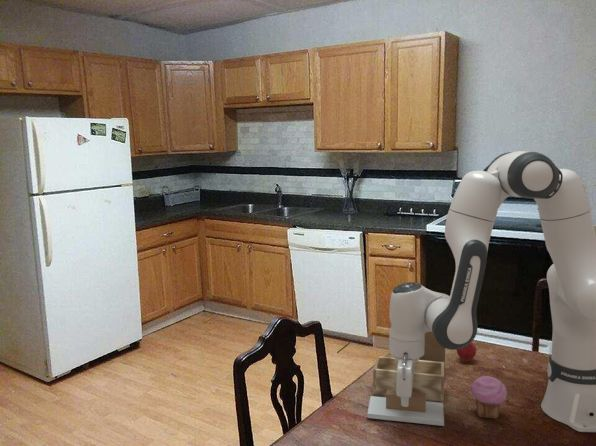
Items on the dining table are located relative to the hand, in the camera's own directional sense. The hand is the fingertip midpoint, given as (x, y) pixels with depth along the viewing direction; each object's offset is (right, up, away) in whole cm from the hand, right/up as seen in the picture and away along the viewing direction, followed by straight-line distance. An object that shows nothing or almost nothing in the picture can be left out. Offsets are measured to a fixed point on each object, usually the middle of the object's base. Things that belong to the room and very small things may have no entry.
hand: (406, 395), depth 132 cm
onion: (+26, 0, +31) cm, 40 cm away
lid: (0, -5, +1) cm, 5 cm away
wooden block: (+11, -1, +24) cm, 27 cm away
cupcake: (+21, -5, 0) cm, 22 cm away
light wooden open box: (+3, -3, +12) cm, 13 cm away
